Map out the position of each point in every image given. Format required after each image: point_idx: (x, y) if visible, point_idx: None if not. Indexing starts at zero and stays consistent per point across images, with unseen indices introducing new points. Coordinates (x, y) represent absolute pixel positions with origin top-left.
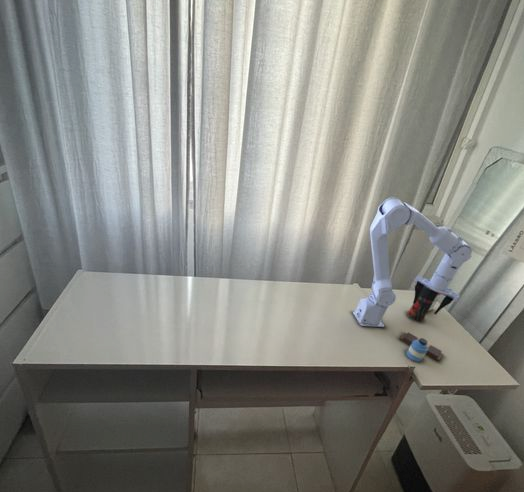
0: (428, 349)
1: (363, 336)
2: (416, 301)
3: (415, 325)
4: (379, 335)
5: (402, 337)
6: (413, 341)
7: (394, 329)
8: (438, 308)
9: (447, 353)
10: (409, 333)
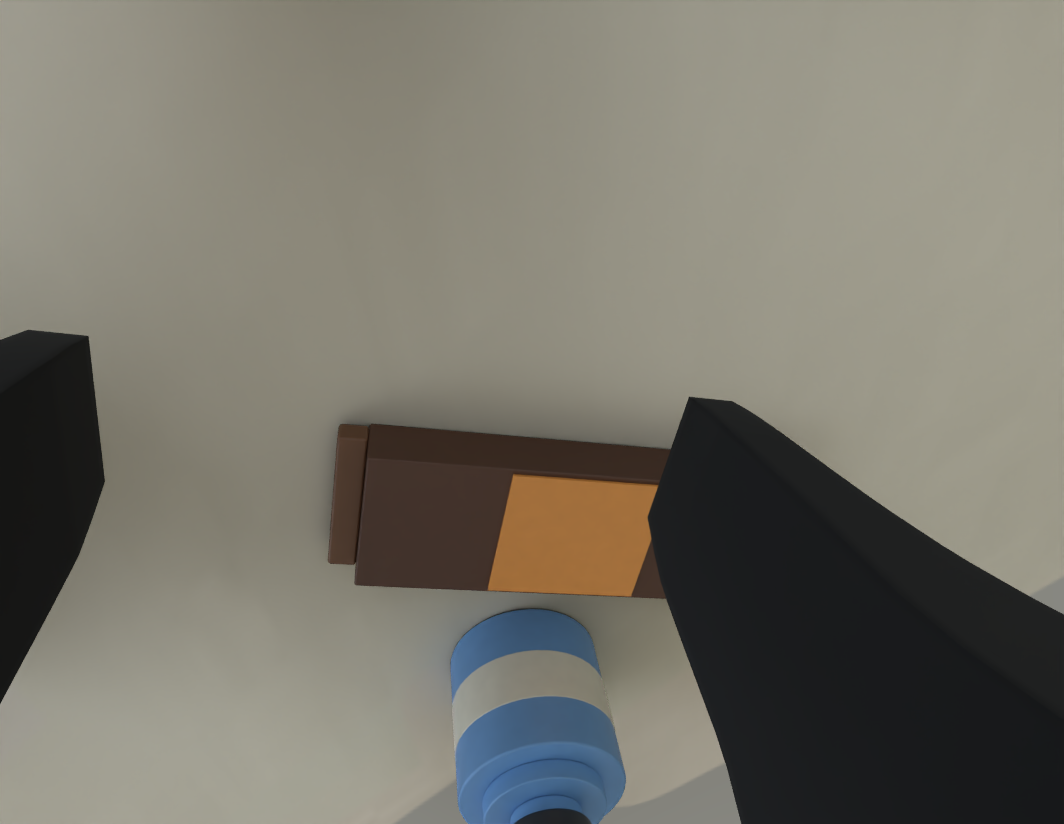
0: (644, 573)
1: (26, 752)
2: (75, 427)
3: (421, 8)
4: (127, 639)
5: (343, 545)
6: (461, 801)
7: (197, 412)
8: (724, 705)
9: (875, 369)
10: (391, 467)
